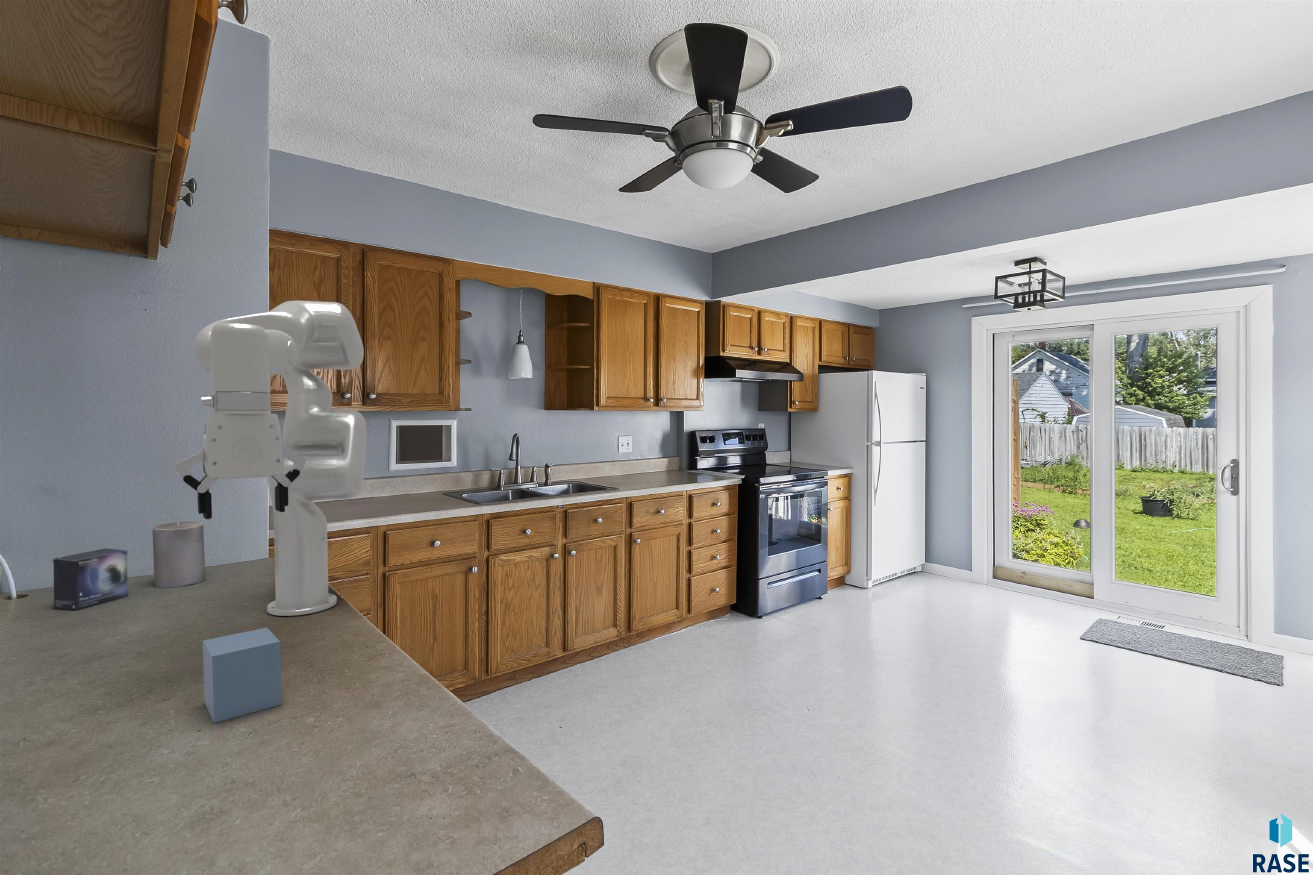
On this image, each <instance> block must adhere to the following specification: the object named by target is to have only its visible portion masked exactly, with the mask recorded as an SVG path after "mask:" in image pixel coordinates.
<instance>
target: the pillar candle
mask: <svg viewBox="0 0 1313 875" xmlns="http://www.w3.org/2000/svg"><path fill="white" fill-rule="evenodd" d="M151 530H152V551H153V552H152V553H153V554H152V555H153V556H152V557H153V576H154V578H153V579H154V580H153V581H154V583H153V584H154V587H155V588H161V589H172V588H180V587H185V586H189V585H195V584H199V583H202V582H204V581H205V579H206V560H205V554H206V553H205V537H204V536H205V535H204V523H203V522H201V521H182V522H181V521H180V519H178V520H177V522H170V523H163V524H158V525H154V526H153V527H152V529H151Z"/></svg>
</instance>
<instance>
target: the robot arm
mask: <svg viewBox="0 0 1313 875" xmlns="http://www.w3.org/2000/svg"><path fill="white" fill-rule="evenodd" d="M193 344H194V345H193V354H194V355H193V356H194V359H195V361H196V363H197V364H198V366H199V367H200V368H201V369H202V370H204V371H205V372H208V373H209V374H211V393H210V394H209V395H207V396H200V406H202V407H203V406H206V407H209V408H211V411H212V413H207V415H206V421H205V424H204V432H203V433H204V434H203V446H202V447H203V448H202V450H201V451H200V452H197V453H195V454H193V455H191V456H188V457H187V458H184V459H182V460H180V461H178V462H175V463H174V464H173V469H174V470H175V471H176V473H177V474H178V476H179V478H181V480H182V482H184V483H185V484H186V485H188V487H190V488H191V489H193V490H194V491H196V493H197V512H198V514H199V515H201V514H202V517H203V519H205V520H211V519H212V518H213V511H212V510H213V509H212V505H213V504H212V493H211V492H210V487H212V485H214V483H215V482H216V481H217V480H238V479H239V480H241V479H253V478H257V479H259V478H267V485H268V490H269V494H270V499H271V505H272V513H273V516H272V517H273V533H274V534H273V536H274V537H273V539H274V542H273V543H274V544H273V545H274V546H273V547H274V578H275V580H274V581H275V587H274V588H275V599H274V600H273V601H271V602H269V603H268V604H267V606H266V612H267V613H268V614H270V615H273V616H279V617H281V616H282V617H293V616H302V615H303V616H304V615H308V614H314V613H319V612H323V611H325V610H328V609H330V608H332V607H334V606H335V605H336V604H337V603H338V597H337V595H335V594H332V593H329V561H328V560H329V559H328V557H329V556H328V521H327V517H326V515H325V514H324V513H323V511H322V510H321V509H320V508H319V507H318V506H317V505H316V503H315V502H314V501H326V500H328V501H330V500H349V499H352V498H356V497H358V496H359V495H360V494H361V492H362V490H363V486H364V478H365V467H366V465H365V464H366V452H367V439H368V438H367V434H368V433H367V424H366V420H365V417H364V416H363V414H361V412H359V411H357V410H354V409H349V408H348V409H347V408H346V409H345V408H332V406H333V393H332V390H331V388H330V387H329V386H328V384H327V383H325V382H324V380H323V379H322V378H320V376H318V375H316V373H315V372H313V371H312V370H338V371H339V370H345V371H346V370H355V369H358V368H359V367H360V366H361V364H362V363H363V360H364V352H365V351H364V350H365V349H364V345H363V341H362V338H361V335H360V332H359V329H358V327H357V323H356V321H355V319H354V317H353V315H352V314H351V312H350V310H349V309H348V308H347V307H346V306H345V305H344V304H342V303H340V302H335V301H317V300H315V301H314V300H287V301H284V302H282V303H280V304H279V305H277V306H276V307H274V308H272V309H271V310H268V311H266V312H260V313H259V312H258V313H253V314H248V315H243V316H235V317H231V318H224V319H219V320H217V321H214V322H212V323H209V324H208V325H206V326H204V327H203V328H202V329H201V330H200V331H199V332H198V334H197V336H196V337H195V340H194V343H193ZM279 375H282V377H283V380H284V383H285V385H286V387H287V388H286V389H287V393H288V394H287V402H286V410H285V415H284V423H283V429H282V430H283V431H282V433H281V426H280V421H279V417H278V414H277V413H271V412H272V411H271V410H272V409H271V408H272V406H271V404H272V403H271V378H270V376H279ZM283 445H284V446H285V448H286V449H287V450H286V449H284V448H283ZM288 450H289V451H288ZM201 462H202V469H203V473H204V475H203V476H202V478H201V479H200V480H198V479H196V478H195V477H194V476H192V474H191V473H190V471H189V470H190V468H191V467H193V466H195V465H197V464H199V463H201Z"/></svg>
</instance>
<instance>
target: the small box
mask: <svg viewBox="0 0 1313 875" xmlns="http://www.w3.org/2000/svg"><path fill="white" fill-rule="evenodd" d="M52 563H53V607H52V608H53V609H60V610H68V611H69V610H70V611H79V610H83V609H86V608H91V607H94V606H98V605H102V604H105V603H108V602H112V601H116V600H120V599H124V598H128V597H129V592H128V591H129V588H128V587H129V584H128V582H129V581H128V580H129V579H128V550H126V549H116V548H107V547H106V548H101V549H96V550H95V549H94V550H90V551H85V552H84V551H83V552H80V553H76V554H70V555H65V556H59V557H54V558H52Z"/></svg>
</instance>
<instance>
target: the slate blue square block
mask: <svg viewBox="0 0 1313 875" xmlns="http://www.w3.org/2000/svg"><path fill="white" fill-rule="evenodd" d="M202 659H203V660H202V662H203V664H202V665H203V666H202V667H203V697H204V700H203V701H204V702H203V703H204V705H206V706H205V707H207V708H206V710H207V712H208V714H209V715H210V719H211V720H212V722H213V724H217V723H220V722H225V721H228V720H231V719H235V718H239V717H243V716H245V715H249V714H253V713H256V712H260V711H264V710H267V709H271V708H274V707H277V706H281V705H282V704H283V703H282V668H281V667H282V666H281V664H282V663H281V640H279V638H278V637H277V636H275V634H274V633H273V632H272V631H271V630H270V629H269V628H268V627H263V628H257V629H253V630H247V631H243V632H238V633H234V634H228V635H223V636H220V637H219V636H218V637H214V638H210V639H205V640H202Z"/></svg>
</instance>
